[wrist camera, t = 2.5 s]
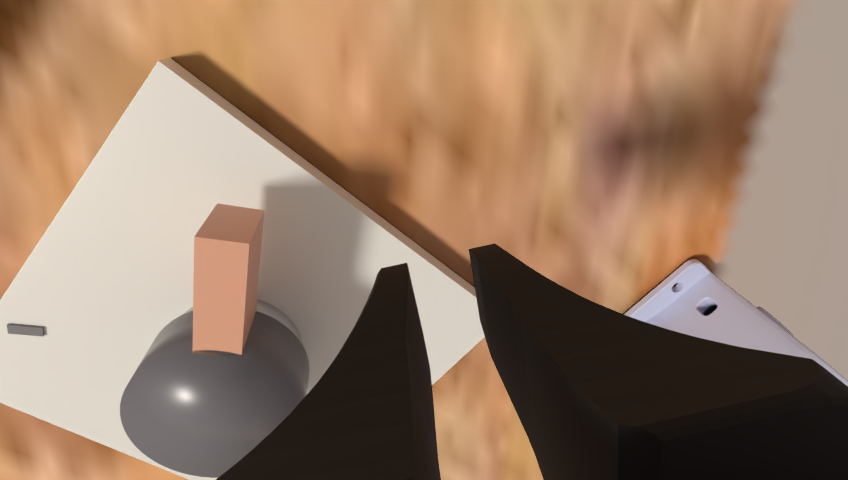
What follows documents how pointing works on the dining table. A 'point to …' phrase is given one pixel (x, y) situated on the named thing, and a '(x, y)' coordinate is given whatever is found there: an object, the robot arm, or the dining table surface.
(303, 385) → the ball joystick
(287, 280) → the joystick base
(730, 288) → the robot arm
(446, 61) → the dining table surface
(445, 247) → the dining table surface
